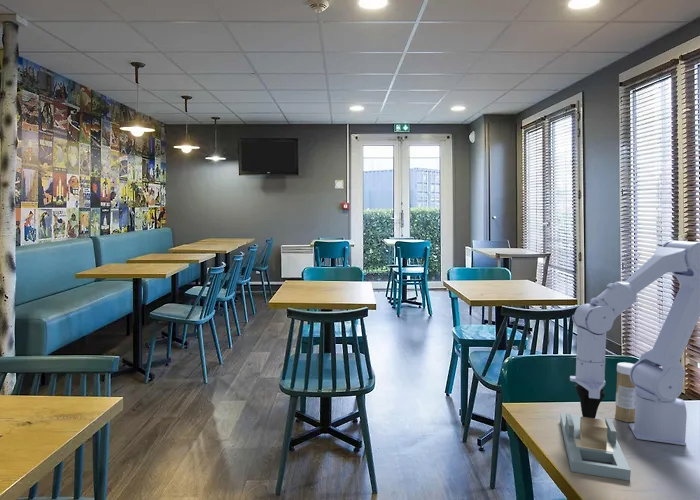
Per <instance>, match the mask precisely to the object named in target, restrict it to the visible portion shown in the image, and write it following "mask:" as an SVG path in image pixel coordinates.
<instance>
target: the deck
mask: <svg viewBox="0 0 700 500" xmlns="http://www.w3.org/2000/svg"><path fill="white" fill-rule="evenodd" d="M580 417H583V416H582V415H577V414H571V413H563V412H562V413H560V425H561V427H560V428H561V431H562V435H563V439H564V444H565V450H566V453H567V458H568V459H567V460H568V463H569V464H568V465H569V468H570V472H572V473H578V474H585V475H590V476H591V475H593V476H598V477H605V478H610V479H618V480H624V481H631V467H630V466H629V463H628V461H627V459H626V457H625V454H624V453H623V450H622V448H621V445H620V444H619V441H618V440H617V430H616V428H615V425H614V424H613V421H612V419H611V418H607V417H606V418H603V417H602V418H601V417H595V419H603V420H605V423H606V426H607V449H606V450H602V449H596V448H589V447H582V445H581V441H580Z"/></svg>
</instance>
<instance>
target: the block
mask: <svg viewBox="0 0 700 500" xmlns="http://www.w3.org/2000/svg"><path fill="white" fill-rule="evenodd" d="M595 418H596V417H595ZM595 418H588V417H580V441H581V445H582V447H589V448H596V449H602V450H606V449H607V426H606V423H605V420H603V419H604V418H602V419H595Z"/></svg>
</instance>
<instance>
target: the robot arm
mask: <svg viewBox="0 0 700 500" xmlns="http://www.w3.org/2000/svg"><path fill="white" fill-rule="evenodd" d="M668 273H671V274H673V276H674V277H675V278H676V279H677V281H678V283H679V285H680V287H679V289H678V291H677V294H676V296H675V298H674V301H673V302H672V304H671V307H670V309H669V311H668V313H667V316H666V317H665V320H664V322H663V325H662V327H661V329H660V330H659V333H658V335H657V338H656V340H655V343H654V344H653V346H652V349H650V350H648V351H646V352H644V353H642V354H641V355H640V357H639V359H638V360H637V361H636V362H635V363H633V364H634V365H633V366H632V368H631V370H630V380H631V382H632V383H633V384H634V385H635V391H636V401H635V421H634V422H633V423H632V422H629V424H628V425H629V428H630V429H631V431H632V433H633V435H634V437H635V438H636V439H637V440H644V441H651V442H657V443H658V442H659V443H664V444H673V445H678V446H679V445H681V446H687V442H686V433H687V416H688V415H687V413H688V412H687V408H686V403H685V401H684V399H683V398H682V399H681V398H680V395H681V394H682V392H683V388H684V378H685V375H686V370H685V368H684V366H683V364H682V363H681V359H682V356H683V354H684V352H685V350H686V347H687V345H688V343H689V341H690V338H691V336H692V334H693V332H694V329H695V328H696V326H697V323H698V321H699V318H700V241H686V240H685V241H683V240H678V239H670V240H668V241H666V242H664V243H663V245H662V246H660V247H658V248H656V249H655V251H654V253H653V255H652V256H651V257H650V258H649V259H648V260H647V261H646V262H644V264H642V265H641V266H640V267H639V268H638V269H637V270H636V271H635V272H634V273H632V274H631V275H630V276H629V277H628V278H627V279H626V280H625V281H623V282H622V281H615V282H614V283H613V282H610V283H608V284H607V285H606V288H605V290H603V291H602V292H601V293H600V294H598V295H597V296H596V297H592V298H591V299H590V300H589V301H590V302H589V303H583V304H581V305H579V306H577V308H576V309H575V312H574V314H572V316H571V319H572V322H573V324H574V325H575V328H576V354H575V355H576V356H575V357H576V359H575V361H576V362H575V375H570V376H569V381H570V382H573V383H574V382H575V383H576V384H574V388H575V390H576V392H577V395H578V396H579V397H578V398H579V403H580V410H581V416H583V417H588V418H597V417H596V416H597V413H598V409H599V406H600V404H601V402H602V400H604V397H605V396H606V393H605V391H604V387H605V385H606V380H605V378H606V377H605V376H606V375H605V374H606V373H605V372H606V352H607V351H606V349H607V348H606V346H607V332H609V331H610V330H611V329H612V327H613V325H614V322H615V320H616V319H617V317H619V316H620V315H621V314H622V313H623V312H625V311H626V310H627V309H629V308H630V307H631V306H632V305H633V304H635V303H636V302H637V294H638V293H639V292H641V291H642V290H644V289H646V288H647V287H648V286H650V285H651V284H653V283H654V282H655V281H657V280H658V279H660V278H661V277H662V276H664V275H665V274H668Z"/></svg>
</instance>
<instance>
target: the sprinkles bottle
mask: <svg viewBox="0 0 700 500" xmlns="http://www.w3.org/2000/svg"><path fill="white" fill-rule="evenodd" d="M634 364H635V363H631V362H625V361H624V362H618V363H617V364H616V373H617V374H616V389H615V390H616V392H615V411H614V412H615V414H614V418H615V419H616V420H618V421H621V422H624V423H634V422H635V401H636V391H635V385H634V384H633V383H632V382H631V380H630V370H631V368H632V366H633V365H634Z"/></svg>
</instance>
